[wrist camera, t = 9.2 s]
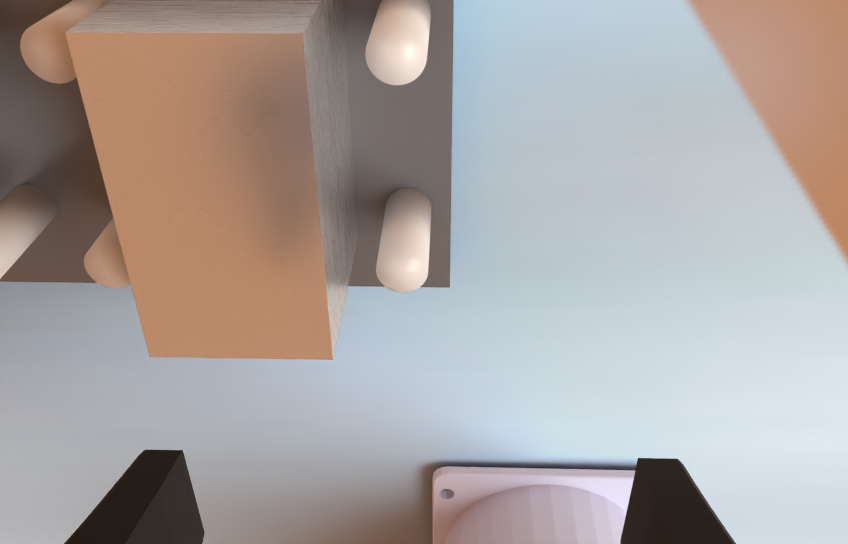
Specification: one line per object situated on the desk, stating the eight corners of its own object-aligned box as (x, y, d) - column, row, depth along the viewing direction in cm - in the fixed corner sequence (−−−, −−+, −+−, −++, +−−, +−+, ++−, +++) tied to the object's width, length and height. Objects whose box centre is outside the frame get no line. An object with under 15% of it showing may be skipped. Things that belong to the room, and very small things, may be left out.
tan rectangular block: (357, 240, 21) (332, 359, 17) (208, 238, 21) (146, 356, 17) (340, -33, 17) (302, 33, 13) (157, -33, 17) (60, 32, 13)
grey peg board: (449, 267, 22) (448, 356, 19) (-188, 259, 23) (-297, 343, 20) (454, -115, 17) (454, -86, 14) (-383, -113, 18) (-580, -83, 14)
